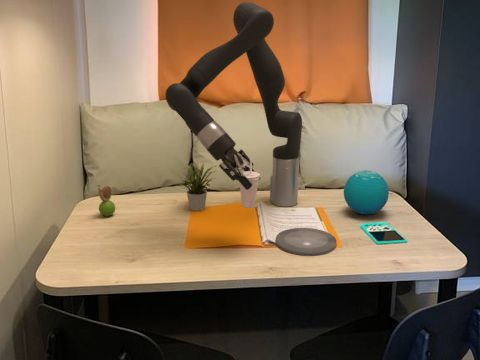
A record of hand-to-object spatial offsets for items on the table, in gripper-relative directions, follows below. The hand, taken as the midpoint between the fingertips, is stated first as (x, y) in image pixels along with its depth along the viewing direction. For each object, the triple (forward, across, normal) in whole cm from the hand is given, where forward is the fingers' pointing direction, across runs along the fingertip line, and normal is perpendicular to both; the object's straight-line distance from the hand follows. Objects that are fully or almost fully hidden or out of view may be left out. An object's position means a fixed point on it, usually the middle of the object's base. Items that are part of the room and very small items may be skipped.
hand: (254, 184), depth 159 cm
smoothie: (+4, 0, +6) cm, 7 cm away
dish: (+23, +7, +3) cm, 25 cm away
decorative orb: (+33, +39, -5) cm, 51 cm away
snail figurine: (-24, +5, +52) cm, 58 cm away
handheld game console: (+39, +23, -11) cm, 46 cm away
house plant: (-6, +23, +33) cm, 41 cm away
